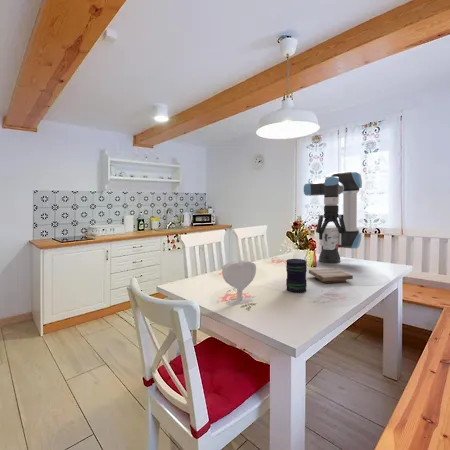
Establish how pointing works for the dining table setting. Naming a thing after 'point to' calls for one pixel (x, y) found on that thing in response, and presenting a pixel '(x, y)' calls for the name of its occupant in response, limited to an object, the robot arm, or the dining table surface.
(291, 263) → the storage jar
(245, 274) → the heart sculpture
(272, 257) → the dining table surface
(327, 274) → the walnut stand
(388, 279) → the dining table surface
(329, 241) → the ink box
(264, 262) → the dining table surface
